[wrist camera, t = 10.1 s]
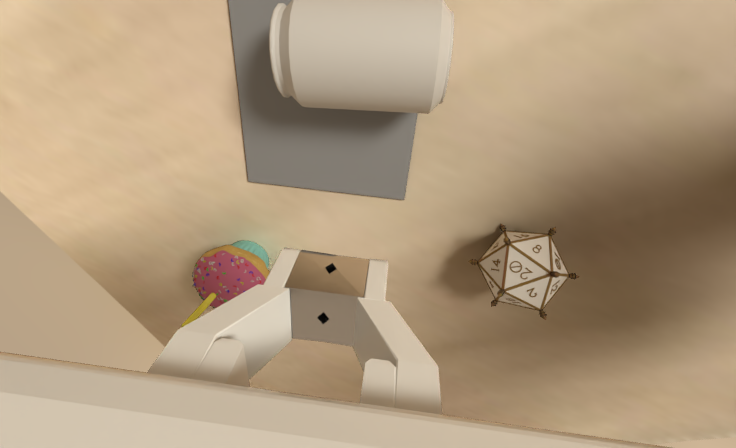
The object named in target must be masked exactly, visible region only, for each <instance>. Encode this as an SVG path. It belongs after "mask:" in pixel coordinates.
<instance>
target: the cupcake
mask: <svg viewBox="0 0 736 448" xmlns="http://www.w3.org/2000/svg"><path fill="white" fill-rule="evenodd" d="M268 264H269V258H268V255H267V253H266V252H265V250H264V249H263V248H262V247H261V246H259V245H258V244H256V243H254V242H251V241H238V242H236V243H234V244H232V245H225V246H222V247H218V248H215V249H212V250H210V251H208V252H206V253H205V254H204V255H203V256H202V257H201V258H200V259H199V260H198V262H197V263H196V265H195V268H194V271H193V273H192V274H193V275H192V277H193V279H194V280H193V281H194V284H193V286H194V285H195V287H196V290H197V292H199V296H201V298H202V299H203V300H204V301H203V302H202V304H201V305H200V306H199V307H198V308H197V309H196V310H195V311H194V312H193V313H192V314H191V316H190V317H189V318H188V319H187V320H186V321H185V322H184V323H183V324H182V326H181V327H184V326H185V325H187V324H189V323H191V322H193V321H194V320H196V319H197V318H198V317H199V316H200V315H201V314H202V312H203V311H204V310H205V309H206V308H207V307H208V306H209V305H210V306H213V308H217V307H219V306H221V305H222V304H224V303H226V302H228V301H229V300H231V299H233V298H235V297H236V296H238V295H240V294H242V293H243V292H245V291H247V290H249V289H251V288H252V287H254V286H256V285H258V284H260V285H263V284H264V282H265V280H266V278H267V276H268V275H269V273H270V271H269V270H268Z"/></svg>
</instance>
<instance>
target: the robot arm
mask: <svg viewBox="0 0 736 448" xmlns="http://www.w3.org/2000/svg"><path fill="white" fill-rule="evenodd" d="M369 261H370V262H369ZM387 271H388V261H387V260H377V259H363V258H355V257H347V256H338V255H333V254H326V253H319V252H312V251H306V250H298V249H290V248H284V249H282V250H281V252H280V253H279V255H278V257H277V259H276V261H275V263H274V265H273V267H272V269H271V271H270V273H269V275H268V276H267V278H266V280H265V282H264V284H263V285H260V284H258V285H256V286H254V287H252V288H251V289H249V290H247V291H245V292H243V293H242V294H240V295H238V296H236V297H235V298H233V299H231V300H229V301H228V302H226V303H224V304H222V305H221V306H219V307H217V308H215V309H214V310H212V311H210V312H208V313H207V314H205V315H203V316H201V317H200V318H198V319H196V320H194V321H193V322H191V323H189V324H187V325H185V326H184V327H182V328H180V329H178V330H177V331H176V333H175V334H174V335H173V337H172V338H171V340H170V341H169V342H168V344H167V345H166V347H165V348H164V350H163V351H162V352H161V354H160V355H159V357H158V358H157V359H156V361H155V362H154V363H153V365H152V366H151V368H150V369H149V371H148V372H147V373H146V372H139V371H132V370H124V369H118V368H110V367H104V366H97V365H90V364H82V363H75V362H68V361H61V360H54V359H47V358H40V357H33V356H26V355H19V354H12V353H5V352H0V448H672V447H664V446H657V445H650V444H643V443H636V442H629V441H622V440H615V439H608V438H601V437H595V436H588V435H581V434H574V433H567V432H560V431H553V430H546V429H539V428H532V427H525V426H518V425H511V424H504V423H497V422H490V421H483V420H476V419H469V418H462V417H455V416H448V415H442V406H441V394H440V381H439V369H438V365H437V364H436V363H435V361H434V360H433V359H432V357H431V356H430V355H429V353H428V352H427V351H426V349H425V348H424V346H423V345H422V344H421V342H420V341H419V340H418V338H417V337H416V336H415V334H414V333H413V332H412V330H411V329H410V328H409V326H408V325H407V323H406V322H405V321H404V319H403V318H402V317H401V315H400V314H399V313H398V311H397V310H396V309H395V307H394V306H393V304H392V303H391V302H390V301H385V296H386V283H387ZM292 338H293V339H303V340H312V341H321V342H328V343H334V344H340V345H346V346H352V347H353V349H354V351H355V353H356V356H357V358H358V360H359V362H360V364H361V367H362V369H363V371H364V376H363V383H362V390H361V397H360V403H356V402H349V401H342V400H335V399H328V398H321V397H314V396H307V395H300V394H293V393H286V392H279V391H272V390H265V389H258V388H251V387H250V384H249V379H251V378H252V377H253V376H254V375H255V374H256V373H257V372H258V371H259V370H260V369H261V368H262V367H263V366H265V365H266V364H267V363H268V362H269V361H270V360H271V359H272V358H273V357H274V356H275V355H276V354H278V353H279V352H280V351H281V350H282V349H283V348H284V347H285V346H286V345H287V344H288V343H289V342H291V341H292Z"/></svg>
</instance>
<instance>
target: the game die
mask: <svg viewBox="0 0 736 448" xmlns="http://www.w3.org/2000/svg"><path fill="white" fill-rule="evenodd" d="M500 229H501V231H503V233H502V234H501V235H500V236H499V237H498V239H497V240H496V241H495V242H494V243H493V244H492V245H491V247H490V248H489V249H488V250H487V251H486V252H485V254H484V255H483V256H482V257H481V258H480V259H479V261H476V260H473V259H472V260H470V261H469V262H470V263H471V264H472V265H473V264H474V265H475V264H478V266H479V268H480V270H481V272H482V274H483V276H484V278H485V280H486V282H487V284H488V286H489V288H490V290H491V292H492V294H493V296H494V298H495V300H493V301H492V302H491V307H492V306H496V304H497V302H498V301H499V302H503V303H508V304H512V305H517V306H521V307H525V308H530V309H534V310H538V311H539V312H540V317H542V318H543V319H545V320H546V315H547V314H545V312H544V311H543V308H544V307H545V306H546V305H547V303H548V302H549V301H550V300H551V298H552V297H553V296H554V295H555V293H556V292H557V291H558V290H559V288H560V287H561V286H562V285H563V283H564V282H565V281H566V280H567V279H568V277H570V278H571V279H572V278H573V279H576V278H578V277H579V276H578V275H576V274H575V273H574V274H573V273H571V274H569V273H568V271H567V269H566V267H565V265H564V263H563V260H562V258H561V256H560V254H559V252H558V250H557V248H556V246H555V244H554V242H553V239H552V237H551V235H553V234H554V233H556V232H555V231H556V227H554V228H552V229H550V230H549V232H548V234H541V233H528V232H515V231H506V228H505V226H504V225H502V224H501V227H500Z"/></svg>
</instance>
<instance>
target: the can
mask: <svg viewBox="0 0 736 448" xmlns="http://www.w3.org/2000/svg"><path fill="white" fill-rule="evenodd" d="M453 34H454V15H453V11H450V9H449V8H448V6H447V5H446V3H445V2H444V0H291V2H290V3H289V4H288V5H287V6H286V5H285V4H284V3H278V4H277V6H276V7H275V9H274V10H273V14H272V17H271V21H270V32H269V51H270V60H271V68H272V72H273V77H274V81H275V83H276V86H277V88H278V90H279V92H280V93H281V94H282V96H283V97H286V98H289V97H290V96H292V97H293V98H294V99H295V100H296V101H297V102H298V103H299V104H300V105H301V106H303V107H310V108H329V109H348V110H367V111H386V112H405V113H424V114H428V113H430V112H431V111H432V110H433V109H434V108H435V107H436V106H437V105H438V104H441V103H442V102H443V99H444V97H445V92H446V88H447V83H448V77H449V71H450V64H451V56H452V47H453Z"/></svg>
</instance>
